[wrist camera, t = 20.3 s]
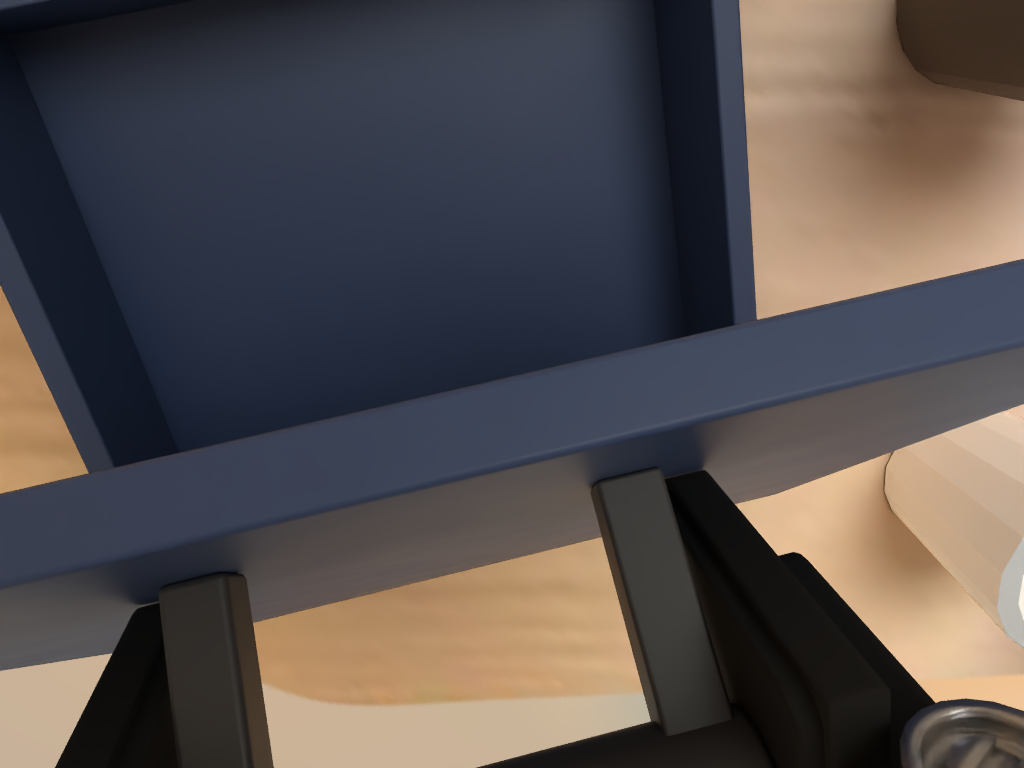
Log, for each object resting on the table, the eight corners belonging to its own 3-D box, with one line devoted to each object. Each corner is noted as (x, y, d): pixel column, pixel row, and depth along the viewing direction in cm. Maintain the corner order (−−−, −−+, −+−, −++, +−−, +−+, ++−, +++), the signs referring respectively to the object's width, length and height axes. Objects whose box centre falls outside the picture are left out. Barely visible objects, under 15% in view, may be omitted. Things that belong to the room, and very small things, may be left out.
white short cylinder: (836, 509, 30) (957, 626, 24) (939, 359, 28) (1102, 443, 22) (959, 559, 32) (1101, 681, 26) (1063, 424, 30) (1245, 518, 24)
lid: (-985, 716, 5) (-1232, 1673, 4) (1444, 160, 6) (1826, 759, 5) (153, 621, 22) (173, 799, 20) (769, 470, 23) (821, 631, 22)
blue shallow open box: (-18, 13, 20) (-138, -5, 15) (658, -114, 21) (731, -166, 16) (198, 530, 26) (159, 624, 22) (704, 410, 27) (766, 476, 23)
